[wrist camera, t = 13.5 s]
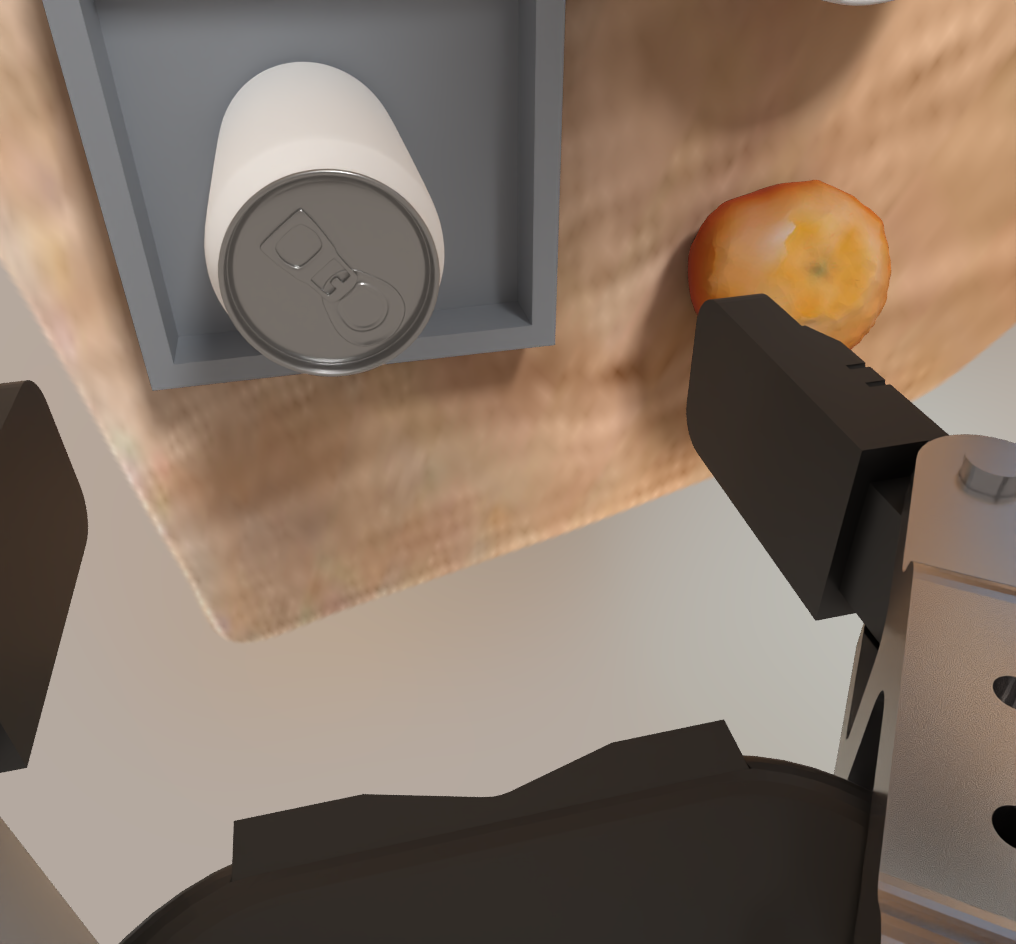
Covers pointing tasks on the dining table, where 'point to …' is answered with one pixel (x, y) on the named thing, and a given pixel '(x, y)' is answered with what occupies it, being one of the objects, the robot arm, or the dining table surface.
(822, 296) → the fruit
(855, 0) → the ramekin
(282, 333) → the can
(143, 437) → the dining table surface
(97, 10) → the tray
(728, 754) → the robot arm
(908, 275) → the dining table surface
